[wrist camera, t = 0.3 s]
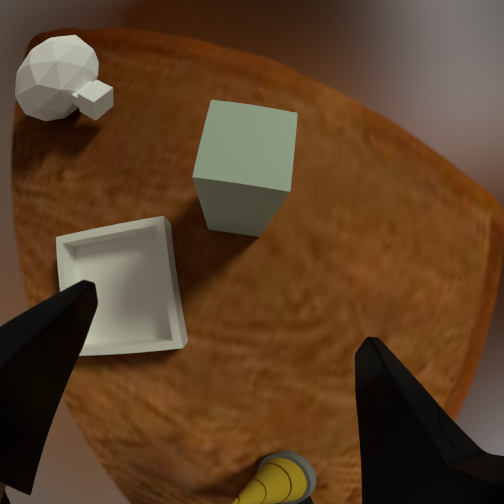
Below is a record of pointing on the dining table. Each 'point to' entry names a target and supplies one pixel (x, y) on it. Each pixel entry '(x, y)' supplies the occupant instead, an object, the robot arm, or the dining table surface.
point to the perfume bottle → (62, 81)
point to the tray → (127, 285)
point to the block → (244, 166)
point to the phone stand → (305, 501)
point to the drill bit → (279, 481)
